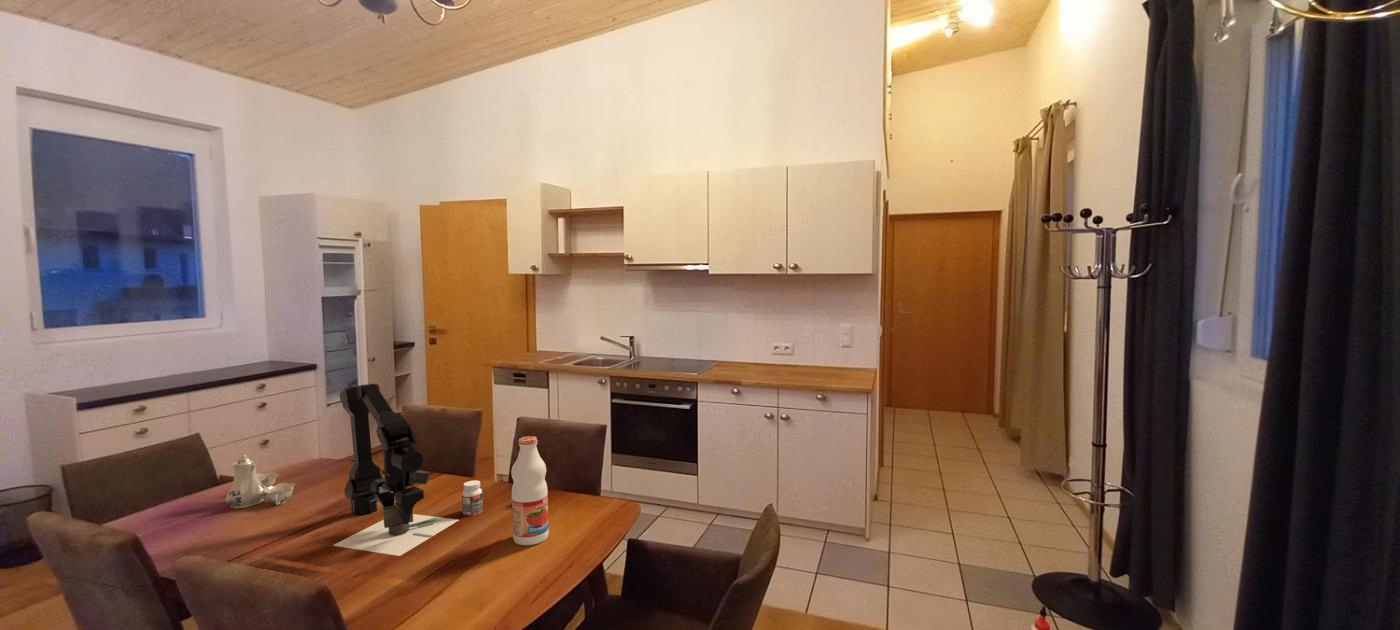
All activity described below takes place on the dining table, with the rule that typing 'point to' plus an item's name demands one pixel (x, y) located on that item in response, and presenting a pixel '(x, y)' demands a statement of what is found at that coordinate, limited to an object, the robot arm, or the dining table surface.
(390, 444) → the robot arm
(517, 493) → the fruit juice
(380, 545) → the dial plate
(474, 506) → the pill bottle
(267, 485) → the chinaware
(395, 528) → the dark grey angled piece
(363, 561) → the dining table surface
